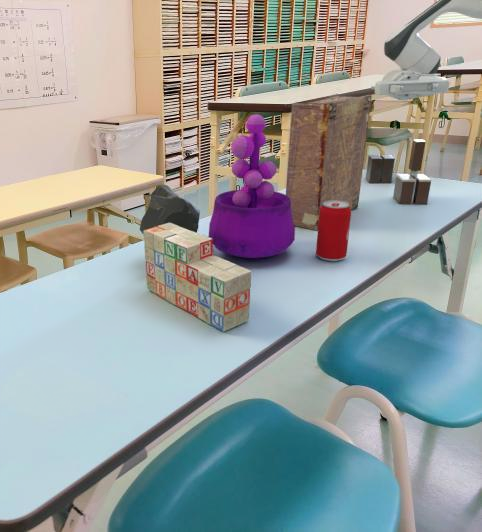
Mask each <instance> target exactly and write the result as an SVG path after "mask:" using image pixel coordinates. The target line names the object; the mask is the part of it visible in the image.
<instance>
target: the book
mask: <svg viewBox="0 0 482 532" xmlns="http://www.w3.org/2000/svg"><path fill="white" fill-rule="evenodd" d="M372 98H373V97H372V94H367V95H361V96H343V95H342V96H341V95H339V93H335V94H330V95H325V96H320V97H315V98H311V99H306V100H302V101H296V102H293V103H292V104H291V113H290V127H289V143H288V157H287V170H286V184H285V195H286V196H288V197H289V198H290V200H291V210H292V218H293V223H294V227H299V228H304V229H307V230H315V231H318V223H319V212H320V208H321V207H322V205H323V202H325V201H329V200H339V201H345V202H348V203H349V206H350V209H351V212H352V210H353V211H354V210H356V209H358V208H359V203H360V194H361V185H362V177H363V171H364V162H365V154H366V146H367V136H368V129H369V121H370V114H371V113H370V112H371V103H372ZM357 207H358V208H357Z"/></svg>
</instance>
